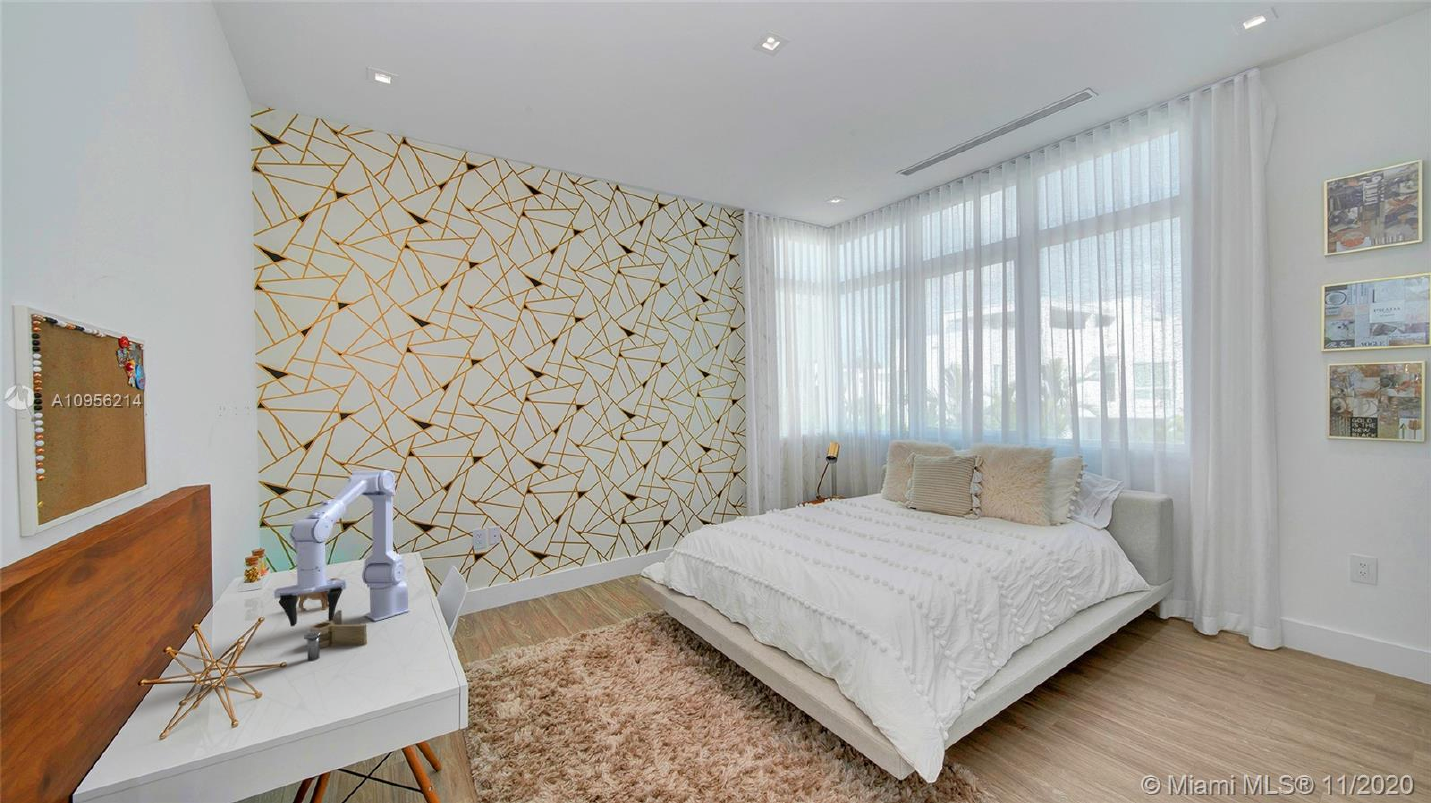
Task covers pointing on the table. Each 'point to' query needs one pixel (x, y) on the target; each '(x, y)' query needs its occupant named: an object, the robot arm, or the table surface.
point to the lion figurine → (315, 598)
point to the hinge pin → (313, 644)
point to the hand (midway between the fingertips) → (312, 621)
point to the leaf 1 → (337, 621)
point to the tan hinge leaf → (341, 634)
